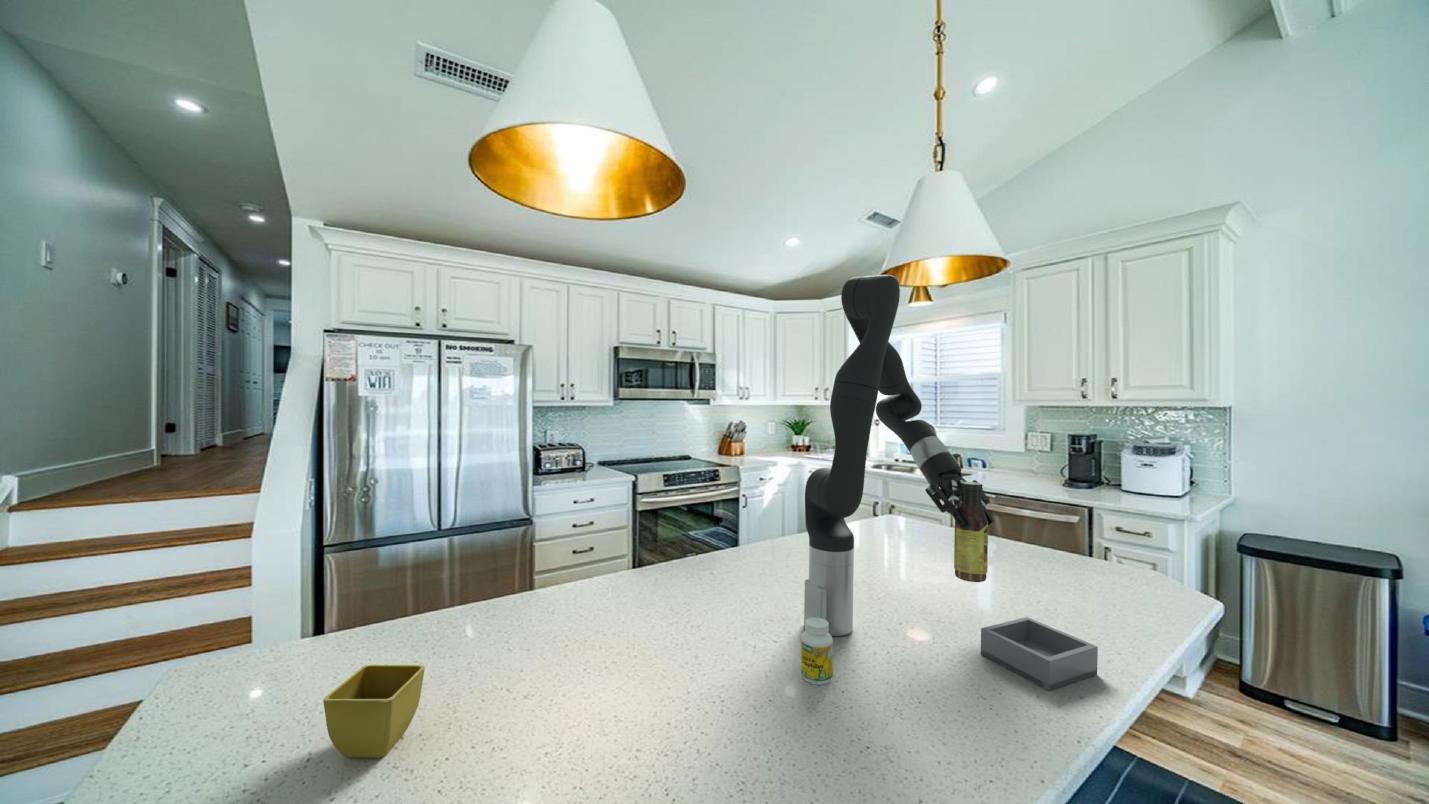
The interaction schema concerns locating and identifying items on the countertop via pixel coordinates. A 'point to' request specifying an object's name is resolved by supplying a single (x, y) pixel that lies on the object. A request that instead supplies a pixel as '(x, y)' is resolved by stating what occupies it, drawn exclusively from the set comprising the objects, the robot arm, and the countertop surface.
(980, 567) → the sauce bottle
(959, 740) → the countertop surface
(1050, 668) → the gray tray
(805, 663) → the supplement bottle
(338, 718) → the flower pot
